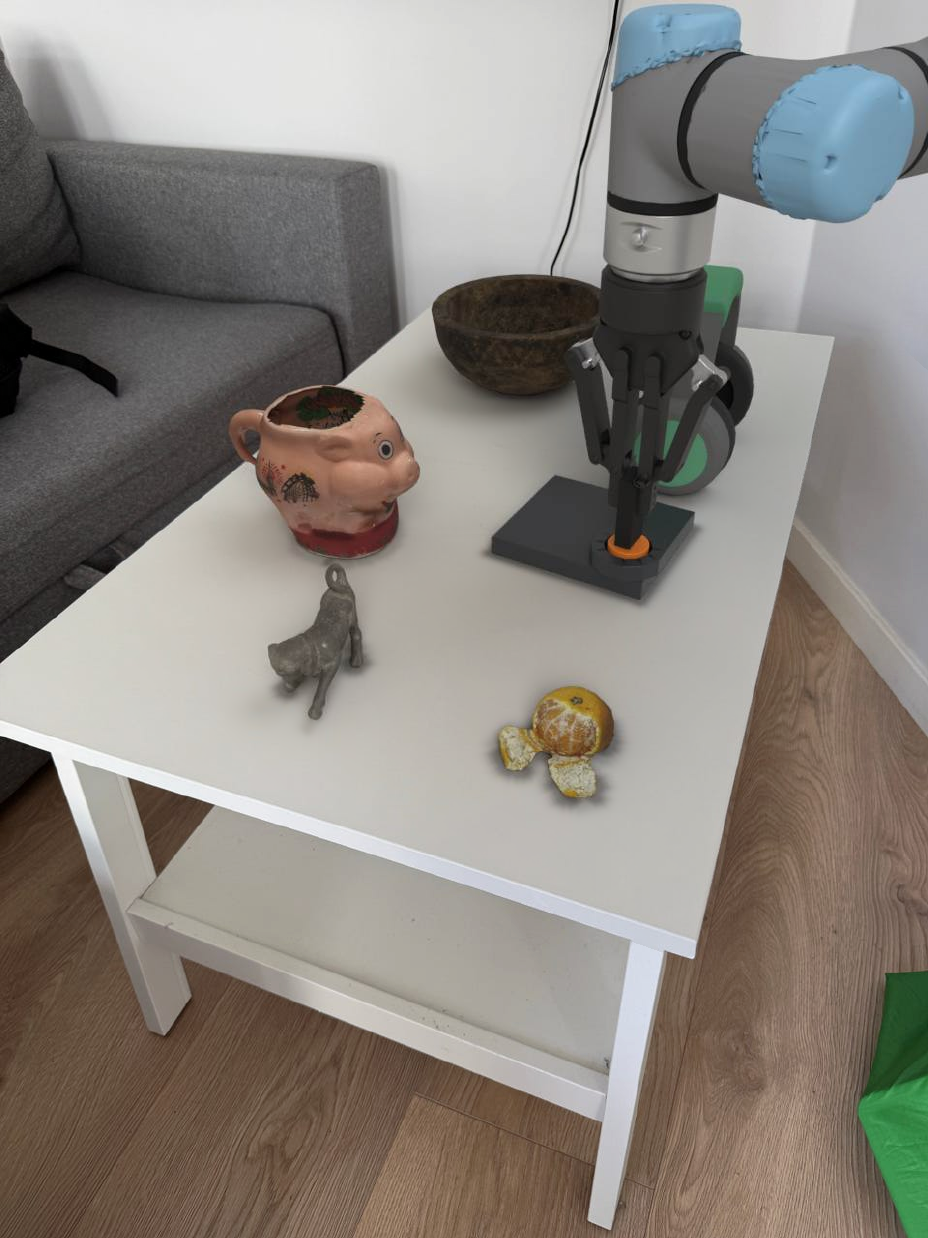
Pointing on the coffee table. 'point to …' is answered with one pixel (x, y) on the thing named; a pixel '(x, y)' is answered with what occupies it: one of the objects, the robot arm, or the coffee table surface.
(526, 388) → the bowl
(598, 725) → the fruit
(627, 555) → the button
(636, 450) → the grey headset
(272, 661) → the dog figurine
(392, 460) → the decorative planter
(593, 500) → the scale
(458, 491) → the coffee table surface
